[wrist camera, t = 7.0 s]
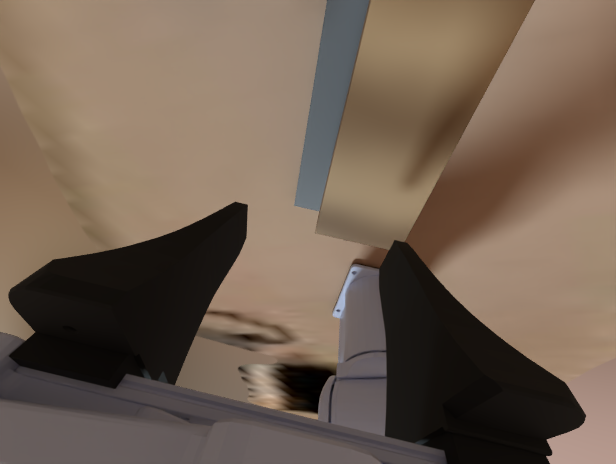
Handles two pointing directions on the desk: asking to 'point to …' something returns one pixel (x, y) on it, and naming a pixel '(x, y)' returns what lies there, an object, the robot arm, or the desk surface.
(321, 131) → the peg stand
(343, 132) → the shelf board
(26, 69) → the desk surface
